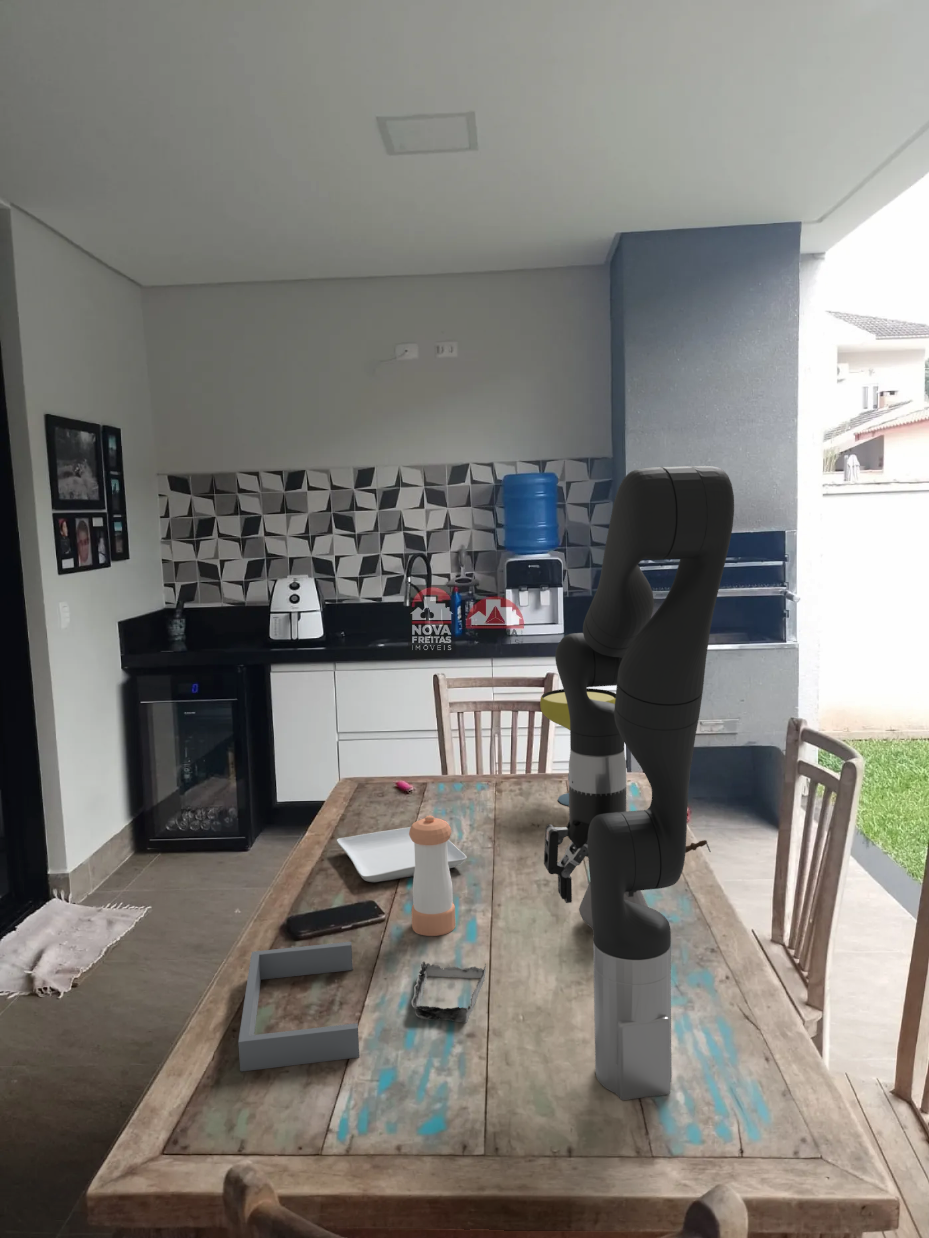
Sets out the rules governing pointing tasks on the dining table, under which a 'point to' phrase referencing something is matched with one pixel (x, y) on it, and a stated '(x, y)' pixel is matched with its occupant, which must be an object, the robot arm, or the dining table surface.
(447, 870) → the pepper shaker
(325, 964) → the bin
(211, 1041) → the dining table surface
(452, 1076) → the dining table surface
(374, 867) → the salad plate
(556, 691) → the cocktail glass
